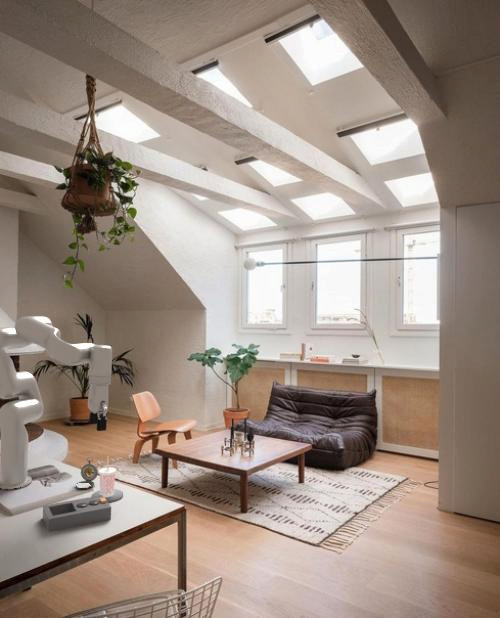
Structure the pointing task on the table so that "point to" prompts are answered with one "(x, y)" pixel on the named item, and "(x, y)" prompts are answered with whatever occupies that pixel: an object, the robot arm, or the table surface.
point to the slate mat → (115, 497)
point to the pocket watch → (89, 473)
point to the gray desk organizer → (76, 513)
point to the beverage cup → (107, 480)
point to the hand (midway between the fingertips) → (97, 426)
